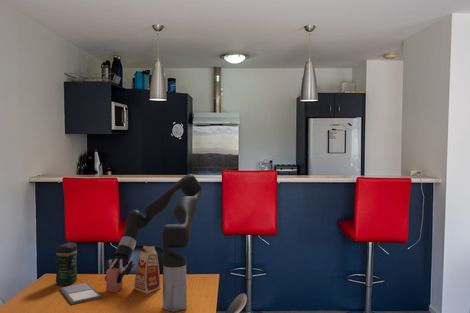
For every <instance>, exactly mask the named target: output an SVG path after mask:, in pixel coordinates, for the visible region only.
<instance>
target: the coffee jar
mask: <svg viewBox="0 0 470 313" xmlns="http://www.w3.org/2000/svg"><path fill="white" fill-rule="evenodd" d="M55 254H56V276H55V284H56V285H59V286H69V285H72V284H73V283H75V282H76V281H78V272H77V271H78V270H77V256H78V255H77V254H78V245H77V243H76V242H71V241H70V242H69V241H68V242H66V243H64V244H60V245H58V246H57V247H56V253H55Z"/></svg>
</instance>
